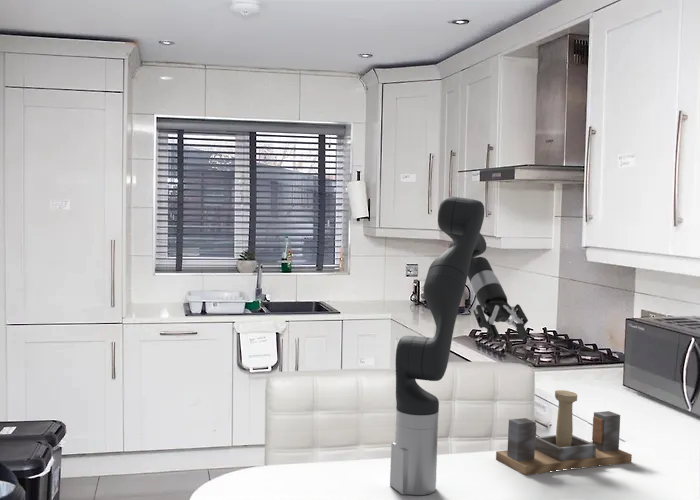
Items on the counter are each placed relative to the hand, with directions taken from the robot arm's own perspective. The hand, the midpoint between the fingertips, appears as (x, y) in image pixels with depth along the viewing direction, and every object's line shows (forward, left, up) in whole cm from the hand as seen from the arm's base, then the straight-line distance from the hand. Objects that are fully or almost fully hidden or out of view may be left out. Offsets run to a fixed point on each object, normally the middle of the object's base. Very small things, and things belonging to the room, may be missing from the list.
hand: (510, 338), depth 194 cm
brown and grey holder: (+7, -15, -29) cm, 33 cm away
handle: (+7, -15, -27) cm, 31 cm away
